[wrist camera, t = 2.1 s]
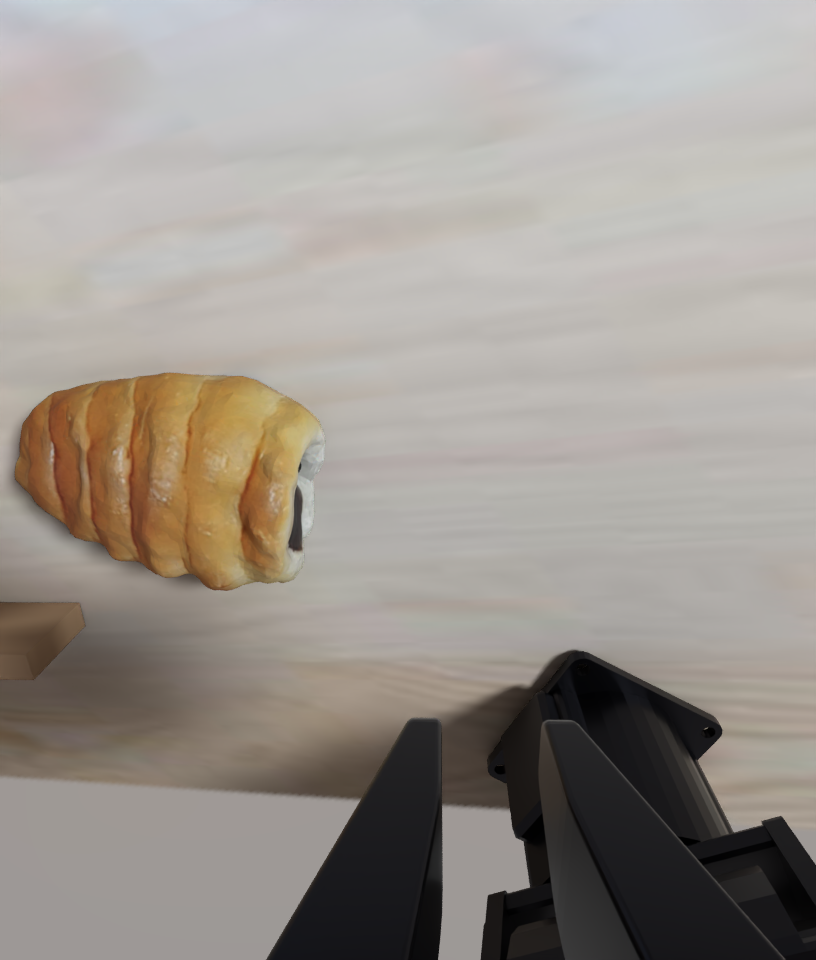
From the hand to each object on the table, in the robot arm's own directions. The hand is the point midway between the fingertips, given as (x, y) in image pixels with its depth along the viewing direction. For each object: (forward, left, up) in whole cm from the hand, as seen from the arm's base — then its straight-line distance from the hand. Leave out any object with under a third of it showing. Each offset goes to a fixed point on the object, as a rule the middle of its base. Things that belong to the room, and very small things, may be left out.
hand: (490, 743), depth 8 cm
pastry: (+7, +5, -12) cm, 15 cm away
